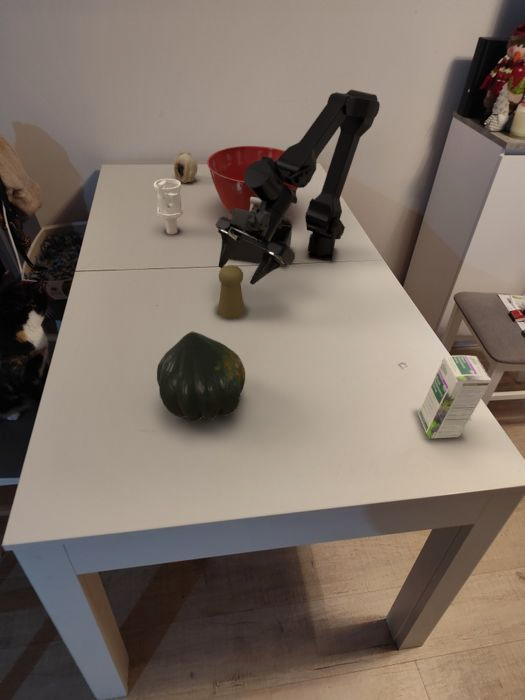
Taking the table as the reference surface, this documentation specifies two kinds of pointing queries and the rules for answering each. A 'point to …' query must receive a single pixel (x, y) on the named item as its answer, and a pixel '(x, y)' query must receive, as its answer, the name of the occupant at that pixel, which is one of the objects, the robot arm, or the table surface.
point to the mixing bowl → (237, 173)
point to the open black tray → (255, 253)
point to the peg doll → (231, 292)
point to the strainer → (169, 203)
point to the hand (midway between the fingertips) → (235, 275)
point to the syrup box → (453, 396)
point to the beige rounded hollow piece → (185, 167)
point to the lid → (254, 200)
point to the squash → (200, 378)
